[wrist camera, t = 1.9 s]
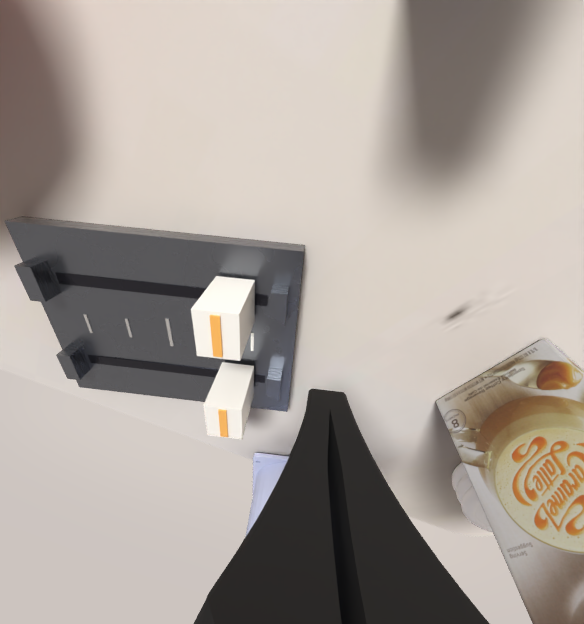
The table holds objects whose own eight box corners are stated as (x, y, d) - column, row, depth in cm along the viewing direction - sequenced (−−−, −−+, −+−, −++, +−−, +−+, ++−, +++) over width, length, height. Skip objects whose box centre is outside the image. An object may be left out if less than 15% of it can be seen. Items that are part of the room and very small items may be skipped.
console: (288, 400, 24) (285, 423, 22) (89, 376, 25) (68, 397, 23) (304, 245, 17) (303, 259, 15) (22, 216, 18) (-16, 226, 16)
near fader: (254, 320, 19) (239, 362, 15) (219, 317, 19) (196, 357, 15) (255, 280, 17) (238, 315, 14) (216, 275, 17) (189, 310, 14)
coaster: (573, 482, 28) (604, 523, 25) (470, 506, 31) (486, 544, 28) (545, 427, 24) (577, 468, 21) (433, 461, 28) (447, 500, 25)
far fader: (253, 393, 22) (241, 440, 19) (224, 390, 22) (206, 436, 19) (254, 365, 21) (241, 411, 17) (222, 362, 21) (202, 406, 17)
